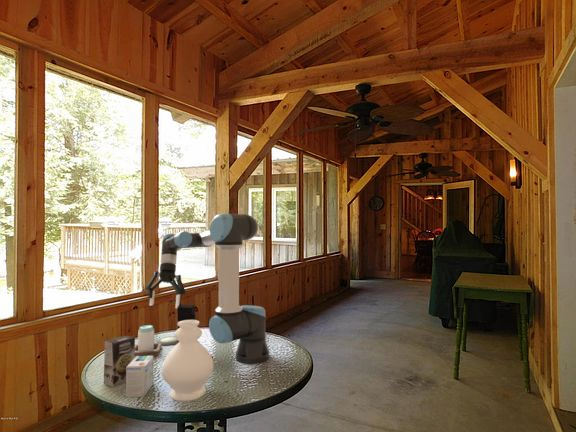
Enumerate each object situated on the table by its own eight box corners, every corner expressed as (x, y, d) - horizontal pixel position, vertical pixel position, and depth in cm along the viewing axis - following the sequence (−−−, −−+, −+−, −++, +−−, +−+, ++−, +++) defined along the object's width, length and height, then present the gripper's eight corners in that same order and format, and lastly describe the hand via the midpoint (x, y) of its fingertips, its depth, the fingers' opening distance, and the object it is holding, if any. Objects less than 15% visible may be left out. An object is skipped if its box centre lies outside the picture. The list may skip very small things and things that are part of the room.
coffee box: (113, 387, 136) (113, 343, 137) (103, 383, 139) (103, 340, 140) (135, 378, 144) (135, 337, 144) (125, 375, 147) (125, 334, 148)
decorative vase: (167, 383, 140) (168, 316, 140) (215, 381, 142) (215, 315, 142) (155, 406, 122) (156, 330, 123) (210, 403, 124) (211, 328, 125)
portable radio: (197, 353, 173) (197, 299, 174) (192, 357, 167) (193, 302, 168) (181, 352, 174) (181, 299, 174) (176, 357, 168) (176, 301, 168)
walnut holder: (158, 355, 169) (158, 351, 169) (129, 357, 167) (129, 353, 167) (161, 347, 181) (161, 343, 181) (134, 348, 179) (134, 344, 179)
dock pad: (180, 344, 185) (180, 342, 185) (154, 346, 182) (154, 344, 182) (181, 337, 197) (181, 335, 197) (157, 339, 194) (157, 337, 194)
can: (135, 355, 170) (136, 328, 170) (140, 350, 177) (140, 324, 177) (151, 354, 171) (151, 328, 171) (155, 349, 178) (155, 324, 178)
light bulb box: (135, 384, 139) (135, 355, 139) (153, 383, 140) (153, 354, 140) (125, 397, 128) (125, 366, 129) (145, 396, 129) (145, 365, 129)
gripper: (186, 269, 197) (183, 310, 189) (141, 261, 181) (135, 305, 172) (193, 266, 193) (191, 307, 184) (148, 257, 176) (143, 302, 167)
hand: (164, 306), depth 178 cm, fingers open, 13 cm apart
